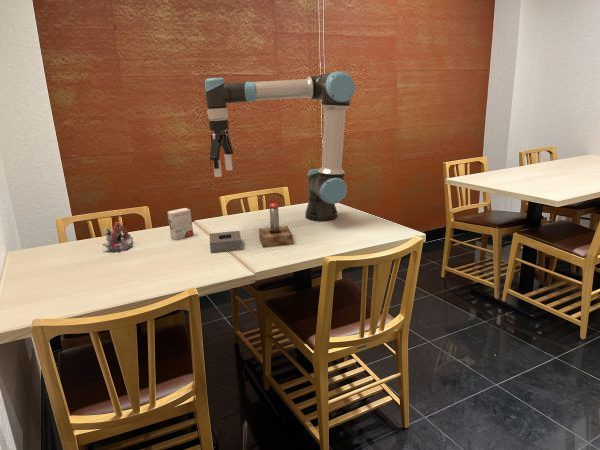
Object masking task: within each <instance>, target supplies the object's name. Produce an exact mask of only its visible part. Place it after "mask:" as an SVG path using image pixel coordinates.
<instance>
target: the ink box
mask: <svg viewBox="0 0 600 450" xmlns="http://www.w3.org/2000/svg"><path fill="white" fill-rule="evenodd" d="M167 218H168V224H169V225H168V227H169V233H170V238H171V239H173V240H175V241H177V240H181V239H184V238H188V237H192V236H194V228H193V220H192V212H191V209H189V208H186V207H184V208H183V207H182V208H178V209H174V210H169V211H167Z"/></svg>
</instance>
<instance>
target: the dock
mask: <svg viewBox="0 0 600 450" xmlns="http://www.w3.org/2000/svg"><path fill="white" fill-rule="evenodd" d="M209 248H210V254H214V253H224V252H233V250H235V251H242V250H243V243H242V236H241V232H240V230H232V231H224V232H223V231H222V232H212V233H209Z"/></svg>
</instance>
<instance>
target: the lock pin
mask: <svg viewBox="0 0 600 450" xmlns="http://www.w3.org/2000/svg"><path fill="white" fill-rule="evenodd" d="M268 208H269V219H270V220H269V221H270V222H269V223H270V228H271V234H275V233H280V232H279V227H280V219H279V218H280V215H279V203H277V202H272V203H269V207H268Z"/></svg>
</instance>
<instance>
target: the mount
mask: <svg viewBox="0 0 600 450" xmlns="http://www.w3.org/2000/svg"><path fill="white" fill-rule="evenodd" d="M279 232H280V233H275V234H271V227H263V228H258V233H259V236H258V238H259V241H260V243H261V247H262V248H272V247H281V246H290V244H292V245H294V239H293V233H292V232H291V230H290V228H289V226H288V225H284V226H283V225H282V226H279Z"/></svg>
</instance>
